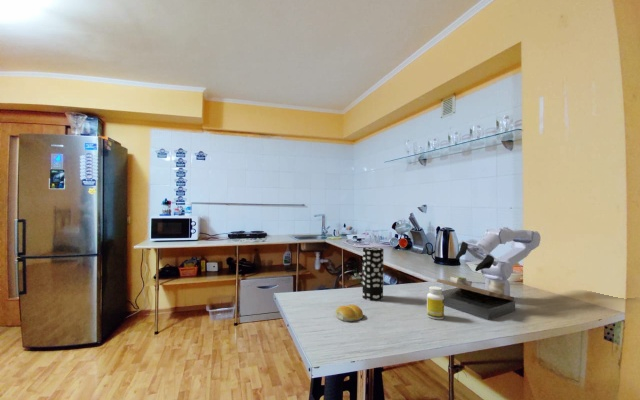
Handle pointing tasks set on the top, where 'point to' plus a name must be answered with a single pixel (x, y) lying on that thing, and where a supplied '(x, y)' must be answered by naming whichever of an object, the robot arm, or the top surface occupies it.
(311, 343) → the top surface
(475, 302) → the base
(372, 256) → the spotted tube
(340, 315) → the bread roll
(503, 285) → the plate
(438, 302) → the supplement bottle
